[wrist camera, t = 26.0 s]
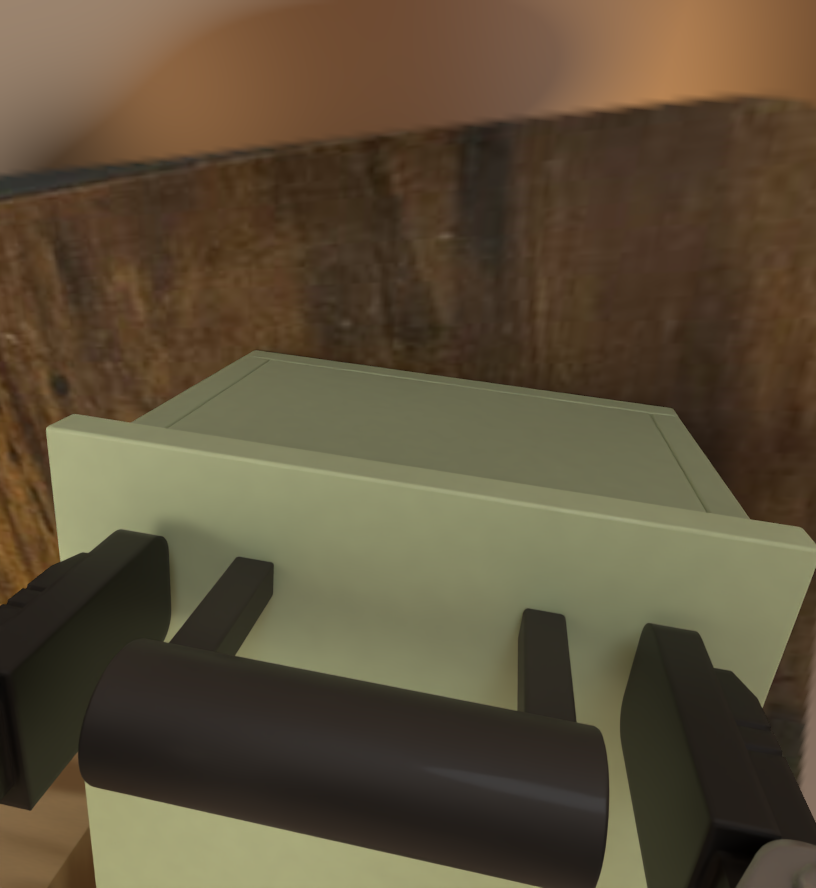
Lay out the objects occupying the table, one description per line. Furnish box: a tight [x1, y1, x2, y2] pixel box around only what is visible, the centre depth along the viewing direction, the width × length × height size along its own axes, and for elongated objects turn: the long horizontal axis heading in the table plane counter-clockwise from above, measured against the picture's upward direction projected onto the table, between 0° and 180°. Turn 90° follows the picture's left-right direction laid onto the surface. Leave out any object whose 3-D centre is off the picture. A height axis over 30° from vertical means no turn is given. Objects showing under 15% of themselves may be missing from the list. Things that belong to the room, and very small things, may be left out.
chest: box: [131, 350, 750, 519], centre depth 18 cm, size 16×13×9 cm
